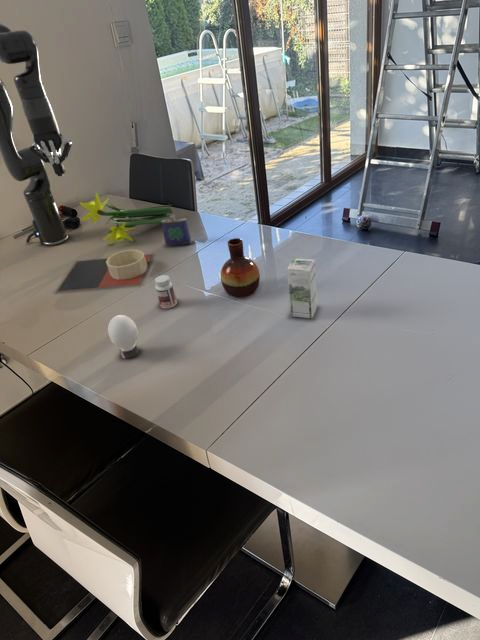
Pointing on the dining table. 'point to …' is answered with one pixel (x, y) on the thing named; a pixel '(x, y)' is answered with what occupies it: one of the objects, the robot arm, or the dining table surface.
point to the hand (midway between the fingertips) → (61, 175)
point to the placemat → (94, 276)
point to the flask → (176, 232)
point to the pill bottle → (165, 292)
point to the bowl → (126, 264)
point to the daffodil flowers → (120, 228)
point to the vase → (239, 272)
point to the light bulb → (124, 335)
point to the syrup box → (302, 288)
